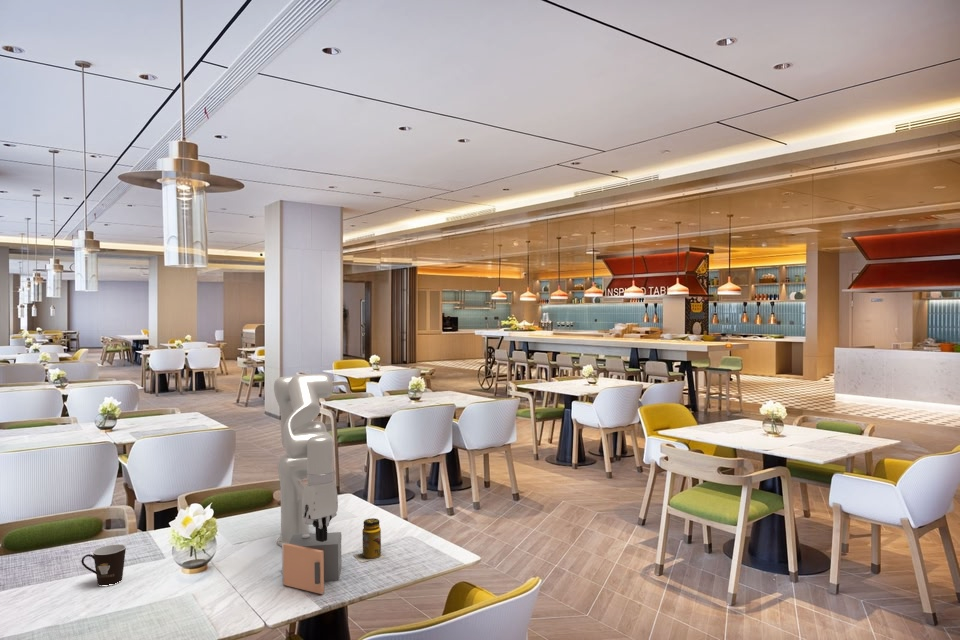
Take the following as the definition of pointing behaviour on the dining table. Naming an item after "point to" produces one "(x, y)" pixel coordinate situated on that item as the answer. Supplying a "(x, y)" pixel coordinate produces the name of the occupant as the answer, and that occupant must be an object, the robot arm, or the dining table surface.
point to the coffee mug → (108, 563)
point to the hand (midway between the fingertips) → (321, 540)
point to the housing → (324, 551)
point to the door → (303, 568)
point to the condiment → (371, 541)
